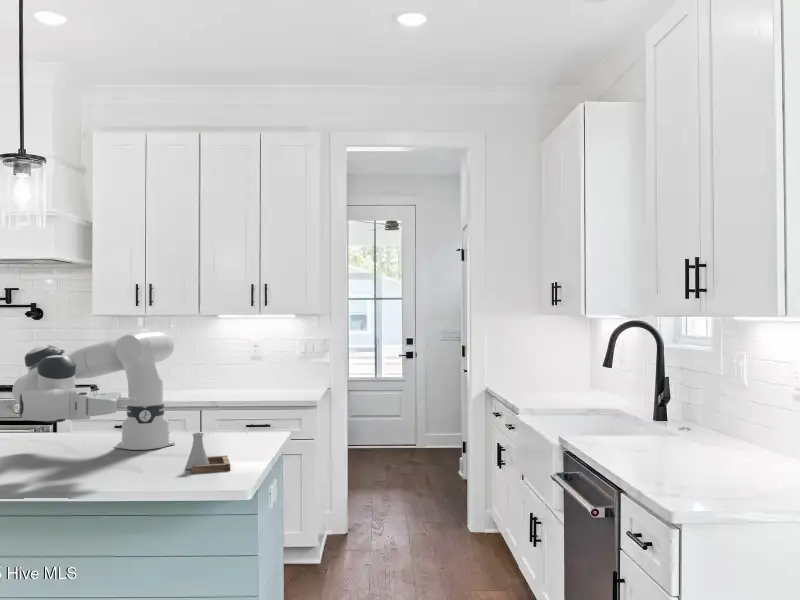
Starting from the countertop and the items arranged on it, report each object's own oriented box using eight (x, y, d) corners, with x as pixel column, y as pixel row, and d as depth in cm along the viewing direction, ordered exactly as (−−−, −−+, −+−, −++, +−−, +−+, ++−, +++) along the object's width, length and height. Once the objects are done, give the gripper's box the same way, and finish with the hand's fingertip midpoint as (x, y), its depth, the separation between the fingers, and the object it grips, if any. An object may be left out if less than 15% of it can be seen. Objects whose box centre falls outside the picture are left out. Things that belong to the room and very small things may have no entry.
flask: (206, 470, 203) (206, 435, 203) (181, 470, 203) (181, 435, 203) (213, 465, 210) (213, 431, 210) (189, 465, 210) (189, 431, 210)
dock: (191, 463, 211) (191, 457, 211) (227, 461, 215) (227, 455, 215) (192, 473, 199) (192, 466, 199) (230, 470, 202) (230, 464, 202)
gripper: (87, 409, 207) (137, 408, 211) (78, 419, 187) (134, 417, 191) (87, 388, 207) (138, 386, 211) (78, 396, 187) (134, 394, 191)
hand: (136, 401), depth 201 cm, fingers closed
